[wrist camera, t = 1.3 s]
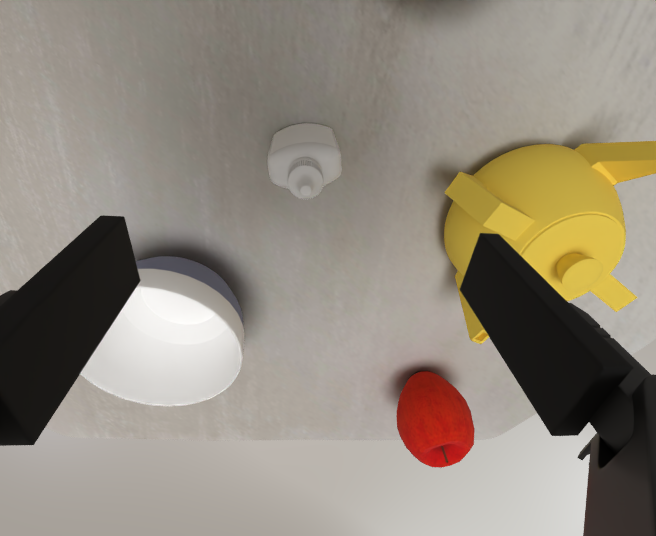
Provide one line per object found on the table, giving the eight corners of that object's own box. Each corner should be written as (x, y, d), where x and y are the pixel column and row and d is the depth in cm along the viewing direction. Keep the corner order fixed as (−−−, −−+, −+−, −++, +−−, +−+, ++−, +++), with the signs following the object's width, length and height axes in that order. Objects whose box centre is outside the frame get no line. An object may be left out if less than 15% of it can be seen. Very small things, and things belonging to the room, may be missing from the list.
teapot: (575, 259, 42) (661, 329, 32) (436, 291, 43) (477, 368, 33) (603, 111, 32) (737, 145, 22) (425, 157, 34) (477, 209, 24)
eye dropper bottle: (283, 105, 30) (275, 139, 20) (341, 132, 32) (360, 176, 22) (267, 152, 32) (252, 204, 22) (322, 175, 34) (331, 233, 24)
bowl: (107, 213, 35) (50, 266, 27) (266, 250, 38) (257, 307, 30) (110, 328, 43) (66, 395, 35) (240, 350, 46) (228, 415, 38)
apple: (379, 367, 50) (399, 451, 40) (446, 348, 49) (485, 430, 39) (395, 406, 56) (416, 488, 45) (456, 389, 54) (492, 471, 44)
